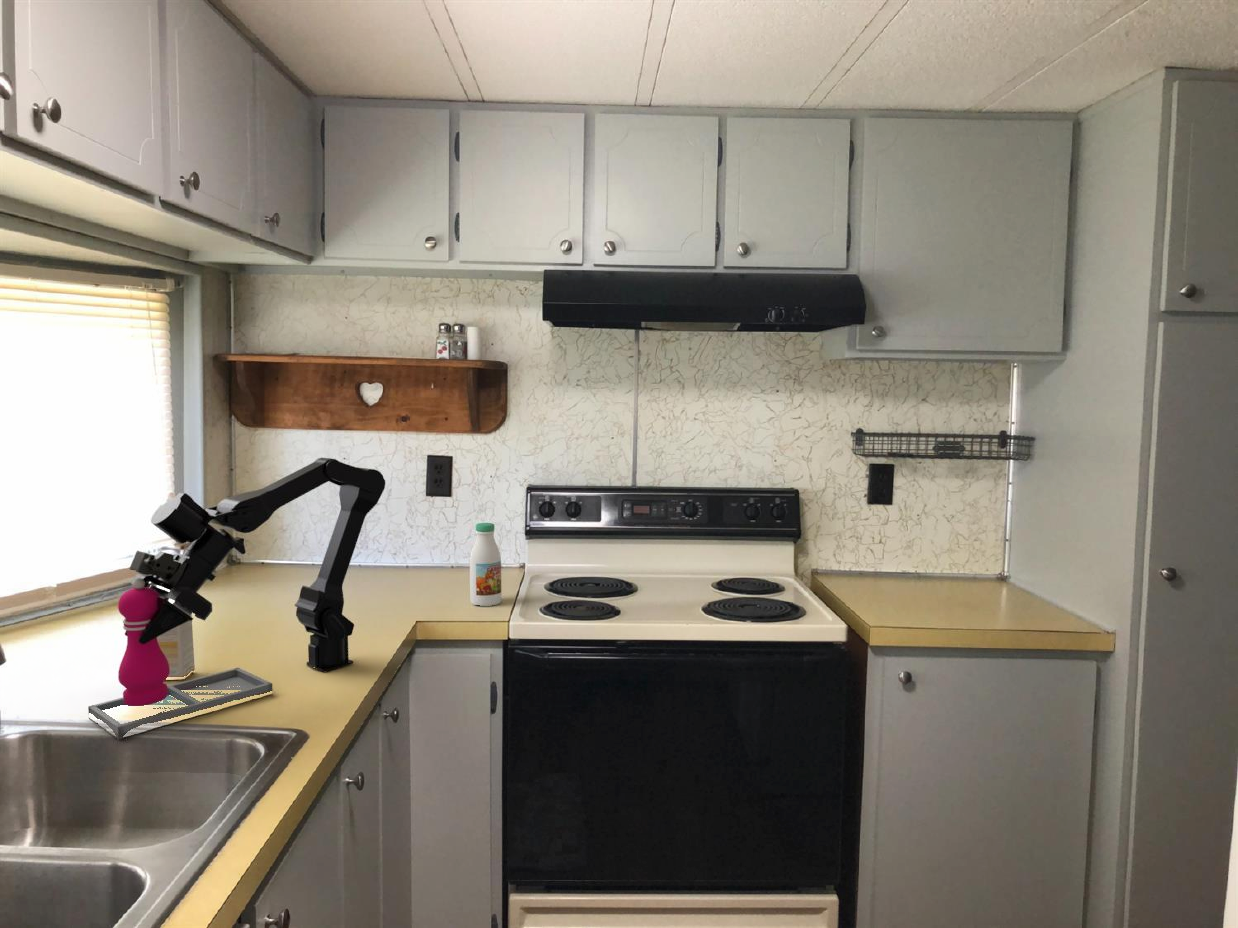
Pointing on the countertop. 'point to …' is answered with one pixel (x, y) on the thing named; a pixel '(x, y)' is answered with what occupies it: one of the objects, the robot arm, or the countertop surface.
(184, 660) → the supplement box
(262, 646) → the countertop surface
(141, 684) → the pepper mill
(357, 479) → the robot arm
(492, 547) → the milk bottle
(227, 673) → the sorting tray
